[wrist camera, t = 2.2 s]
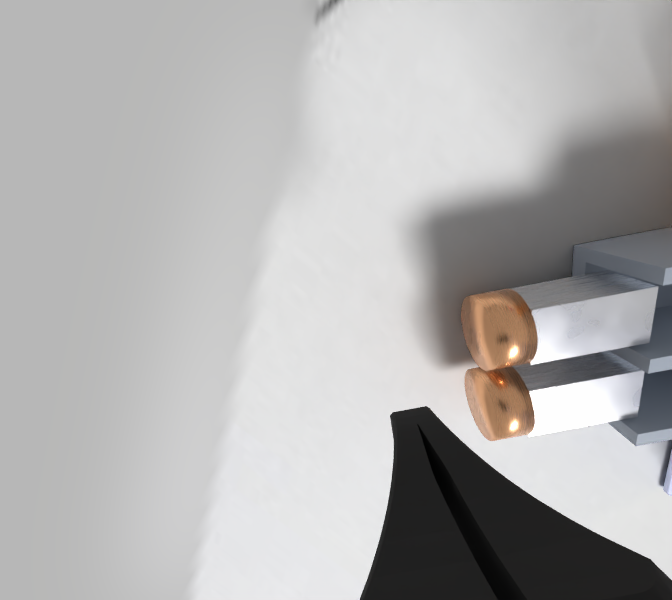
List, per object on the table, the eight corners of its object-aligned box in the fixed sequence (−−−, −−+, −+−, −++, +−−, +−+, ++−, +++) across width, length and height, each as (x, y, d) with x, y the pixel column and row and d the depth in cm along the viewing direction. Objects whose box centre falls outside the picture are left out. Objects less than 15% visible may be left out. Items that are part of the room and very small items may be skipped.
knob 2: (587, 387, 22) (644, 430, 18) (466, 409, 22) (497, 457, 18) (592, 332, 20) (655, 366, 17) (463, 356, 20) (496, 396, 17)
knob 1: (593, 323, 20) (657, 356, 16) (462, 347, 20) (496, 386, 16) (600, 259, 19) (671, 279, 15) (459, 285, 19) (495, 312, 15)
